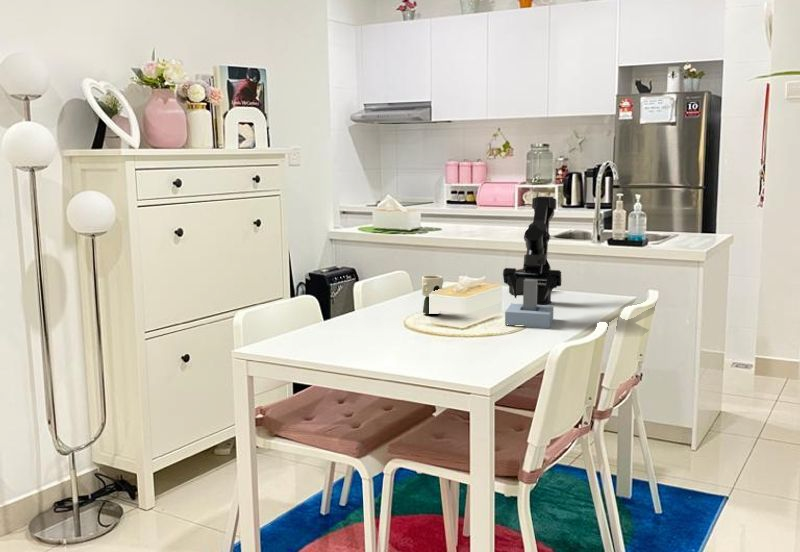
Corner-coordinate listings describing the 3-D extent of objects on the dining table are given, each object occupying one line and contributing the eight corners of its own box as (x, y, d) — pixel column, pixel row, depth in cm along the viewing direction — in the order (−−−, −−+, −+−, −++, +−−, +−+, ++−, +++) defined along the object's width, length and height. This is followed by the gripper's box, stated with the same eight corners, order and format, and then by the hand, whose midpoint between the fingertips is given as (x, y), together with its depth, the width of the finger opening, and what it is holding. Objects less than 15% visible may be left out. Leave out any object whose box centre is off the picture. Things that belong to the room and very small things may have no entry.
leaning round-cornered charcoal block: (517, 296, 310) (517, 271, 309) (507, 294, 313) (508, 270, 312) (543, 290, 321) (543, 267, 320) (533, 289, 324) (534, 265, 323)
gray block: (524, 317, 269) (525, 278, 266) (536, 318, 268) (537, 279, 265) (522, 320, 265) (523, 280, 263) (535, 320, 264) (536, 281, 262)
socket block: (510, 316, 275) (511, 303, 274) (553, 318, 271) (553, 305, 270) (505, 325, 262) (505, 311, 261) (549, 328, 258) (549, 314, 257)
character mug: (432, 318, 271) (432, 280, 269) (414, 316, 275) (414, 278, 273) (449, 313, 280) (449, 275, 278) (432, 310, 284) (432, 273, 282)
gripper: (504, 243, 268) (498, 282, 260) (562, 245, 264) (558, 285, 255) (507, 263, 277) (501, 301, 269) (563, 266, 272) (559, 305, 264)
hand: (529, 298), depth 264 cm, fingers open, 9 cm apart
